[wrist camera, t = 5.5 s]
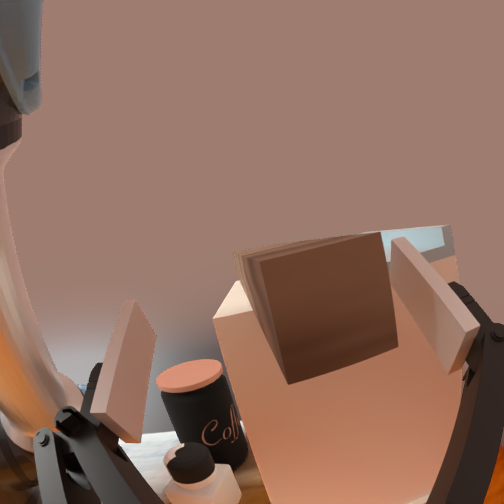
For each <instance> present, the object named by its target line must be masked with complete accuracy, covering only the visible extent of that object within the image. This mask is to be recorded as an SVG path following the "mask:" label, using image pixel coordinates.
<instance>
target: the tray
mask: <svg viewBox="0 0 504 504" xmlns="http://www.w3.org/2000/svg"><path fill="white" fill-rule="evenodd" d="M374 232H381V236H382V241H383V246H384V251H385V256H386V261H387V267H388V272H389V275H390V259H391V239H395V238H399V237H403V236H404V237H405V238H406V239H407V240H408V241H409V242H410V243H411V244H412V245H413V246H414V247H415V248H416V249H417V250H418V252H419V253H420V254H421V255H422V256H423V257H424V258H425V259H426V260H427V261H428V262H429V263H431V262H434V261H437V260H440V259H444V258H447V257H450V256H453V255H455V249H454V242H453V237H452V231H451V226H450V225H441V226H429V227H417V228H407V229H397V230H385V231H374ZM365 233H373V232H364V233H359V234H365ZM355 235H357V234H355Z"/></svg>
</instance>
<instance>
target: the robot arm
mask: <svg viewBox="0 0 504 504" xmlns="http://www.w3.org/2000/svg"><path fill="white" fill-rule="evenodd" d="M42 12H43V0H0V504H164V503H163V501H162V500H161V499H160V498H159V497H158V495H157V494H156V493H155V492H154V491H153V489H152V488H151V487H150V486H149V484H148V483H147V482H146V481H145V479H144V478H143V477H142V475H141V474H140V473H139V471H138V470H137V469H136V467H135V466H134V464H133V463H132V462H131V460H130V459H129V457H128V456H127V455H126V453H125V452H124V450H123V449H122V447H121V446H120V445H119V444H118V441H119V438H120V439H121V440H123V441H124V442H125V443H141V436H142V427H143V420H144V411H145V404H146V397H147V390H148V384H149V377H150V371H151V365H152V359H153V353H154V347H155V342H156V336H157V335H156V334H155V332H154V330H153V329H152V327H151V325H150V324H149V322H148V320H147V318H146V317H145V315H144V313H143V311H142V310H141V308H140V306H139V304H138V302H137V301H136V299H132V300H127V301H123V302H122V305H121V308H120V311H119V314H118V317H117V320H116V323H115V326H114V329H113V332H112V335H111V338H110V342H109V345H108V348H107V351H106V355H105V358H104V361H103V363H97V364H96V366H95V367H94V368H93V370H92V371H91V374H90V377H89V383H88V384H87V385H76V384H75V383H74V382H73V381H72V380H71V379H70V378H68V377H67V376H65V375H63V374H61V373H59V372H58V371H57V369H56V367H55V365H54V362H53V360H52V358H51V355H50V353H49V351H48V348H47V346H46V343H45V341H44V339H43V336H42V333H41V331H40V328H39V325H38V323H37V320H36V317H35V314H34V312H33V309H32V306H31V302H30V299H29V296H28V293H27V290H26V286H25V283H24V280H23V276H22V272H21V269H20V265H19V261H18V257H17V253H16V248H15V244H14V239H13V234H12V229H11V224H10V218H9V213H8V206H7V200H6V192H5V184H4V176H3V172H4V166H5V164H6V163H7V161H8V160H9V158H10V157H11V155H12V154H13V153H14V151H15V150H16V148H17V147H18V146H19V144H20V143H21V140H22V128H21V127H22V122H21V121H22V118H21V117H22V114H26V115H29V114H30V113H32V112H34V111H36V110H38V109H39V108H40V106H41V104H42V91H41V27H42ZM389 278H390V284H391V286H392V287H393V289H394V290H395V292H396V293H397V295H398V296H399V298H400V299H401V301H402V302H403V304H404V305H405V307H406V308H407V310H408V311H409V313H410V314H411V316H412V317H413V319H414V320H415V322H416V324H417V325H418V327H419V328H420V330H421V332H422V333H423V335H424V336H425V338H426V340H427V341H428V343H429V344H430V346H431V348H432V349H433V351H434V353H435V354H436V356H437V358H438V360H439V361H440V363H441V365H442V366H443V368H444V370H445V372H446V373H447V375H449V374H451V373H453V372H456V371H458V370H460V369H461V368H462V366H463V364H464V362H465V360H466V362H467V363H468V365H469V367H468V369H467V371H466V373H465V375H464V377H463V379H462V380H463V381H464V380H465V385H464V389H463V394H462V398H461V402H460V406H459V410H458V414H457V418H456V422H455V425H454V429H453V432H452V435H451V439H450V442H449V445H448V448H447V451H446V454H445V457H444V460H443V463H442V465H441V468H440V471H439V473H438V476H437V478H436V481H435V483H434V486H433V488H432V490H431V493H430V495H429V497H428V500H427V502H426V504H483V502H484V499H485V496H486V493H487V490H488V487H489V484H490V481H491V477H492V474H493V470H494V467H495V463H496V459H497V455H498V451H499V447H500V442H501V437H502V432H503V427H504V325H502V324H500V323H493V322H492V321H491V319H490V318H489V317H488V316H487V314H486V313H485V312H484V311H483V309H482V308H481V307H480V306H479V305H478V303H477V302H475V300H474V299H473V297H472V296H470V294H469V293H468V292H467V290H466V289H465V288H464V287H463V286H461V285H460V284H458V283H456V282H455V281H453V282H450V283H446V282H445V281H444V279H443V278H442V277H441V276H440V275H439V274H438V273H437V271H436V270H435V269H434V268H433V267H432V266H431V265H430V264H429V262H428V261H427V260H426V259H425V258H424V257H423V256H422V255H421V254H420V253H419V252H418V250H417V249H416V248H415V247H414V246H413V245H412V244H411V243H410V242H409V241H408V240H407V239H406V238H405V237H404V236H403V237H399V238H395V239H391V259H390V276H389ZM465 378H466V379H465ZM101 502H102V503H101Z"/></svg>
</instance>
